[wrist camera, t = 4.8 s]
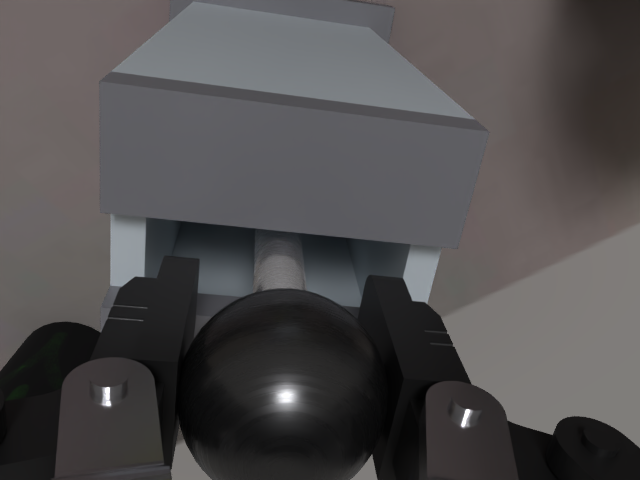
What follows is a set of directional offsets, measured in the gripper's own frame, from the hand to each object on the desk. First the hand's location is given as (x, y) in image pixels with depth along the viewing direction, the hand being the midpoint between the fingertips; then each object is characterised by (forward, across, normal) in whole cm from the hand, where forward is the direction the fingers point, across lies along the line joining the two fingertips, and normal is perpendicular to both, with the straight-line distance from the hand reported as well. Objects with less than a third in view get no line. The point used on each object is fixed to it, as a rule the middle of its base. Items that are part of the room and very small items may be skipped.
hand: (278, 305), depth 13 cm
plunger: (+12, 0, 0) cm, 12 cm away
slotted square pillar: (+19, 0, 0) cm, 19 cm away
